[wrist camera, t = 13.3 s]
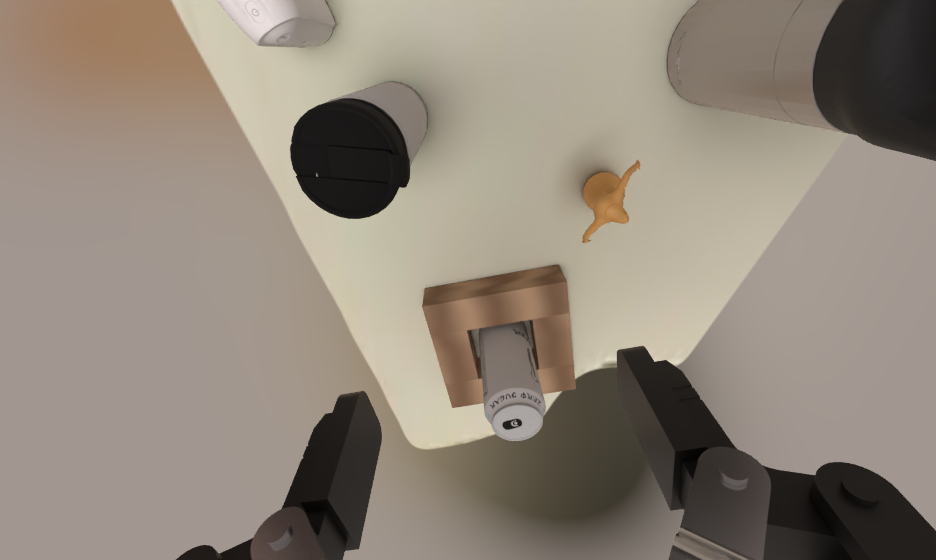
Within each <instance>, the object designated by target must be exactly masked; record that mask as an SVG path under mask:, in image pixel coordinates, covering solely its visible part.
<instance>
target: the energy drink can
mask: <svg viewBox="0 0 936 560" xmlns="http://www.w3.org/2000/svg"><path fill="white" fill-rule="evenodd" d="M479 345H480V358H481V371H482V385H483V398H484V411H485V416H486V418H487V420H488V421H489V423H490V424H491V425H492V428H493V430H494V432H495V433H496V434H497V435H498V436H500V437H501V438H503V439H506V440H511V441H520V440H525V439H528V438H530V437H532V436H534V435H535V434H536V433H537V432H538V431H539V430H540V429H541V427H542V423H543V420H542V418H543V416H544V413H545V408H546V406H545V401H544V397H543V393H542V389H541V385H540V381H539V377H538V373H537V369H536V365H535V361H534V357H533V353H532V349H531V345H530V342H529V338H528V334H527V330H526V327H525V324H524V323H523V322H522V321H520V322H514V323H508V324H502V325H496V326H490V327H485V328H480V330H479Z"/></svg>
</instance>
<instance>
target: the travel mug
mask: <svg viewBox="0 0 936 560" xmlns="http://www.w3.org/2000/svg"><path fill="white" fill-rule="evenodd" d="M427 124H428V115H427V110H426V106H425V104H424V102H423V100H422V99H421V97H420V96H419V94H418V93H417V92H416V91H415V90H413V89H412V88H411V87H409V86H407V85H405V84H403V83H399V82H386V83H382V84H379V85H375V86H372V87H369V88H366V89H363V90H360V91H357V92H354V93H351V94H348V95H345V96H342V97H338V98H335V99H332V100H330V101H328V102H326V103H324V104H321V105H318V106H316V107H314V108H312V109H310V110H308V111H307V112H306V113H305V114H304V115H303V116H302V117H301V118H300V119H299V121H298V122H297V123H296V125H295V126H294V131H293V136H292V140H291V142H292V144H291V146H290V152H291V161H292V166H293V170H294V171H295V173H296V174H297V176H296V178H297V180H298V182H299V184H300V186H301V188H302V191H303V192H304V193H305V194H306V195H307V196H308V198H309V199H310V200H311V201H313V202H314V203H315V204H316V205H317V206H319V207H320V208H322V209H323V210H325V211H327V212H328V213H331V214H334V215H336V216H339V217H344V218H348V219H361V218H366V217H370V216H372V215H375V214H377V213H379V212H380V211H382V210H383V209H385V208H386V207H387V206H388V205H389V204H390V203H391V201H392V200H393V199H394V197H395V195H396V193H397V191H398V189H399V187H403V188H404V187H406V186H407V184H408V182H409V179H410V166H411V163H412V161H413V159H414V157H415V155H416V152H417V150H418V148H419V146H420V144H421V141H422V139H423V137H424V135H425V132H426V129H427Z"/></svg>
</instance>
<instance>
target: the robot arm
mask: <svg viewBox="0 0 936 560" xmlns="http://www.w3.org/2000/svg"><path fill="white" fill-rule="evenodd" d="M667 63H668V74H669V78H670V81H671V83H672V85H673V87H674V89H675V91H676V92H677V93H678V94H679V95H680V96H681V97H682V98H684V99H686V100H687V101H689V102H691V103H695V104H699V105H704V106H709V107H715V108H719V109H724V110H729V111H734V112H739V113H744V114H750V115H755V116H760V117H765V118H770V119H775V120H781V121H786V122H791V123H796V124H801V125H807V126H813V127H818V128H823V129H829V130H834V131H839V132H844V133H849V134H854V135H857V136H859V137H860V138H862V139H863V140H865V141H867V142H869V143H871V144H873V145H876V146H880V147H883V148H886V149H891V150H895V151H899V152H903V153H907V154H911V155H915V156H920V157H923V158H927V159H930V160H934V161H936V0H700V1H698V2H697V3H696V4H695V5H694V6H693V7H692V8H691V9H690V10H689V11H688V12H687V13H686V15H685V16H684V18H683V19H682V20H681V22H680V23H679V25H678V27H677V29H676V31H675V33H674V35H673V37H672V41H671V44H670V47H669V52H668V59H667ZM617 378H618V392H619V396H620V400H621V403H622V405H623V408H624V410H625V412H626V414H627V416H628V419H629V421H630V423H631V425H632V428H633V430H634V432H635V434H636V436H637V438H638V440H639V443H640V445H641V447H642V449H643V452H644V454H645V456H646V458H647V460H648V462H649V465H650V467H651V469H652V471H653V473H654V475H655V477H656V480H657V482H658V484H659V486H660V488H661V491H662V493H663V495H664V497H665V499H666V501H667V504H668V506H669V508H670V510H677V509H684V510H685V511H684V515H683V519H682V523H681V526H680V530H679V532H678V534H676V536H675V539H674V542H673V546H672V549H671V553H670V557H669V560H936V531H935V530H934V528H933V527H932V526H931V525H930V524H929V523H928V522H927V521H926V520H925V519H924V518H923V517H922V516H921V514H919V512H918V511H917V510H916V509H915V508H914V507H913V506H912V505H911V504H910V503H909V502H908V501H907V500H906V498H905V497H903V495H902V494H901V493H900V492H899V491H898V490H897V489H896V488H895V487H894V486H893V485H892V484H891V483H889V482H888V481H887V480H886V479H884V478H883V477H881V476H879V475H878V474H876V473H874V472H872V471H870V470H868V469H865V468H863V467H860V466H857V465H854V464H850V463H843V462H833V463H827V464H825V465H823V466H821V467H820V468H819V469H818V470H817V472H816V475H809V474H802V473H794V472H788V471H781V470H776V469H772V468H768V467H765V466H763V465H761V464H760V463H759V462H758V461H757V460H756V459H754V458H753V457H752V456H750V455H748V454H747V453H745V452H743V451H740V450H738V449H737V448H736V447H735V446H734V445H733V444H732V442H731V441H730V439H729V438H728V437H727V435H726V434H725V432H724V431H723V429H722V428H721V427H720V425H719V424H718V422H717V421H716V419H715V418H714V417H713V415H712V414H711V412H710V411H709V409H708V408H707V407H706V405H705V404H704V402H703V401H702V400H700V396H699V395H698V394H697V392H696V391H695V389H694V388H692V386H691V384H690V382H689V381H688V379H687V378H686V377H685V375H684V374H683V372H682V371H681V370H679V369H678V368H677V367H675V366H674V365H672V364H671V363H669V362H668V361H667V360H663V361H657V362H654V360H653V359H652V357H651V356H650V354H649V353H648V351H647V349H646V348H645V347H644V346H639V347H633V348H627V349H621V350H618V351H617ZM381 440H382V433H381V426H380V423H379V420H378V418H377V416H376V414H375V411H374V409H373V407H372V405H371V403H370V400H369V398H368V396H367V394H366V393H365V392H364V391H360V392H355V393H348V394H343V395H340V396H339V397H338V399H337V402H336V404H335V407H334V410H333V413H328V414H325V415H324V416H323V418H322V419H321V420H320V421H319V423H318V424H317V425H316V427H315V428H314V430H313V432H312V435H311V437H310V440H309V442H308V446H307V447H306V450H305V452H304V455H303V459H302V460H301V462H300V465H299V467H298V470H297V473H296V475H295V477H294V480H293V482H292V485H291V487H290V490H289V492H288V495H287V497H286V500H285V502H284V505H283V507H282V509H281V510H279V511H277V512H276V513H274V514H272V515H271V516H270V517H269V518H268V519H267V520H265V521H264V522H263V524H262V525H261V526H260V527H259V529H258V530H257V532H256V534H255V535H254V538H252V539H250V540H248V541H246V542H244V543H242V544H239V545H237V546H235V547H233V548H231V549H229V550H226V551H224V552H222V553H220V554H219V553H218V552H217V551H216V550H215V549H214V548H213V547H211V546H207V545H202V546H198V547H195V548H192V549H191V550H189V551H187V552H185V553H184V554H183V555H181V556H180V557H179V558H177V559H176V560H342V559H343V556H344V552H345V551H346V550H354V549H359V546H360V542H361V536H362V531H363V527H364V522H365V518H366V513H367V508H368V503H369V499H370V494H371V489H372V484H373V480H374V475H375V470H376V465H377V460H378V456H379V451H380V446H381Z"/></svg>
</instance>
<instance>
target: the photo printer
mask: <svg viewBox="0 0 936 560" xmlns="http://www.w3.org/2000/svg"><path fill="white" fill-rule="evenodd" d="M217 2H218V3H219V4H220V6H221V7H222V8H223V10H224V11H225V12H226V13H227V14H228V16H229V17H230V18H231V19H232V20H233V21H234V22H235V23H236V24H237V25H238V27H239V28H240V29H241V30H242V31H243V32H244V33H245V34H246V35H247V36H248V37H249V38H250V39H251V40H252V41H253V42H255V43H256V44H257V45H258V46H273V47H299V48H303V47H306V46H307V45H309V46H317V45H321V44H323V43H325V42H326V41H327V40H328V39H329V38H330V36H331V34H332V32H333V27H335V26H336V24H335V21H334V19H333V16H332V14H331V12H330V10H329V8H328V6H327V4H326V2H325V0H217Z"/></svg>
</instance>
